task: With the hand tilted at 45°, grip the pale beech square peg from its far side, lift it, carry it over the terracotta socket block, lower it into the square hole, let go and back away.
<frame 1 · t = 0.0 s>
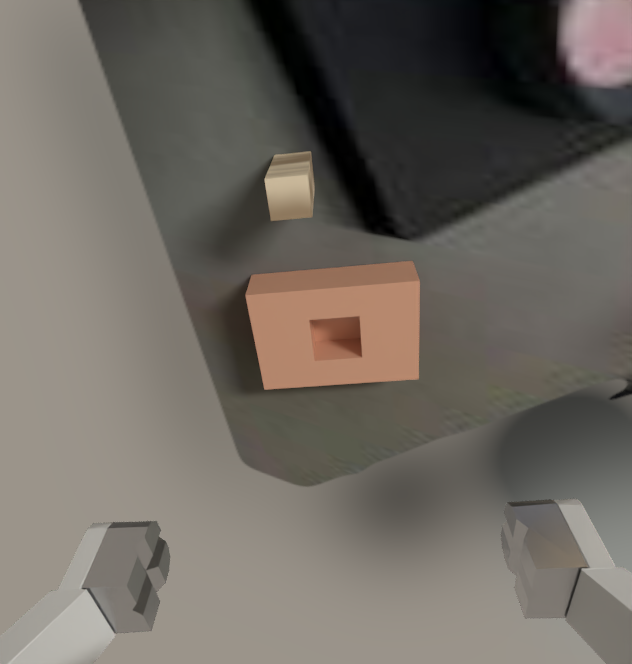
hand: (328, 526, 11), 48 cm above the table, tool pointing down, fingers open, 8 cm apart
socket: (335, 316, 64), on the table
peg: (294, 171, 54), on the table
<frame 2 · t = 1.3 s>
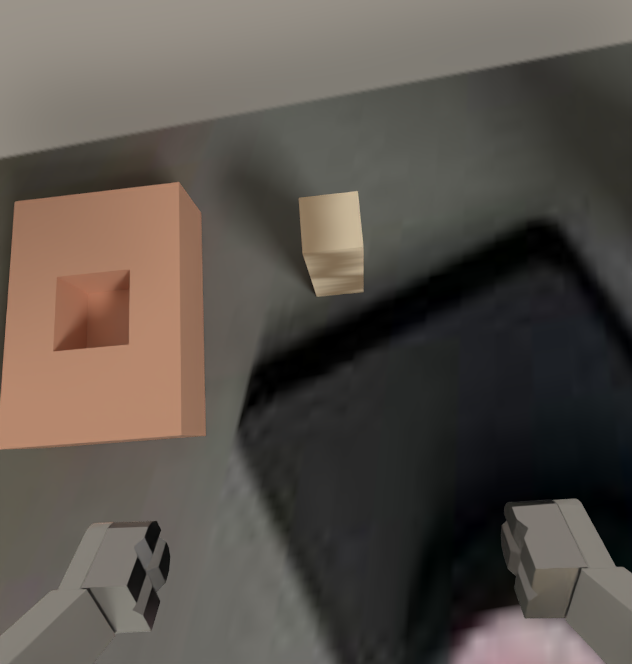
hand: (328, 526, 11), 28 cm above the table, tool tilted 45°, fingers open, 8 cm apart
socket: (125, 326, 43), on the table
peg: (338, 272, 42), on the table
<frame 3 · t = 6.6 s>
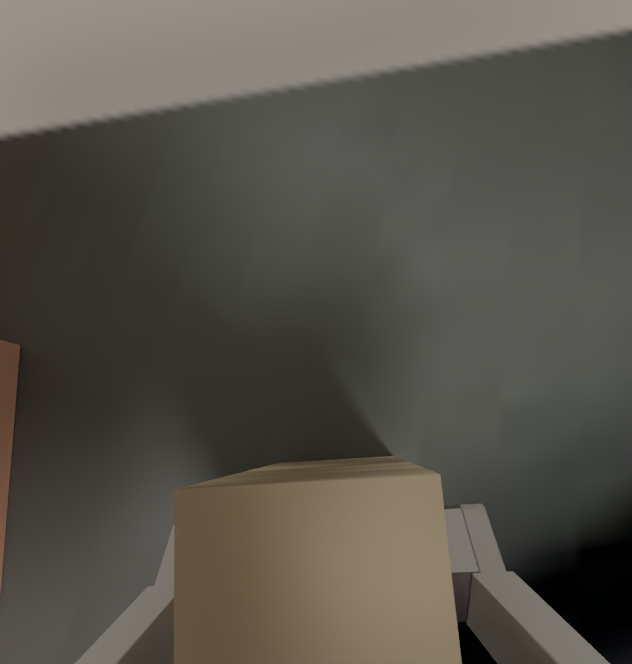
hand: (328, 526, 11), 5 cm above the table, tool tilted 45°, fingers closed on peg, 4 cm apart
peg: (339, 520, 17), on the table, touching gripper
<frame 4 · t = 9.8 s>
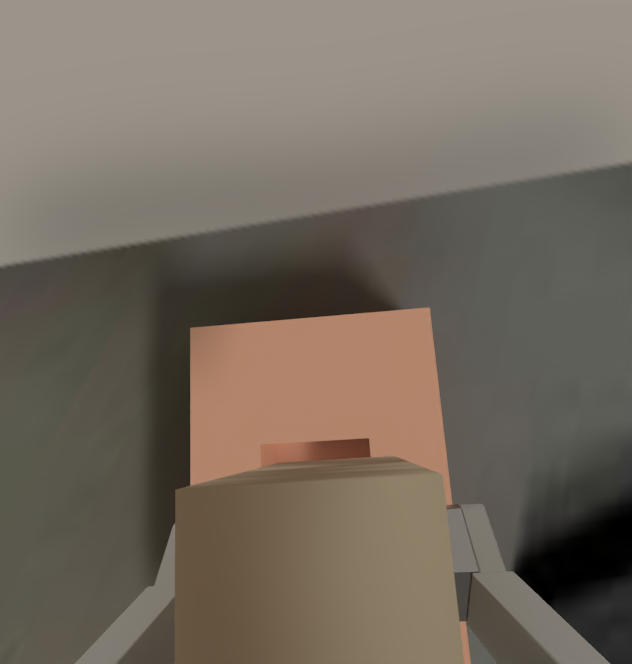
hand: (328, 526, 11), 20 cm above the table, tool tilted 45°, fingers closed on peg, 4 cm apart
socket: (326, 488, 31), on the table
peg: (340, 520, 16), point 15 cm above the table, touching gripper
when the fingers open (9 cm above the table, at t = 12.8 s): peg drops 3 cm, resting on socket.
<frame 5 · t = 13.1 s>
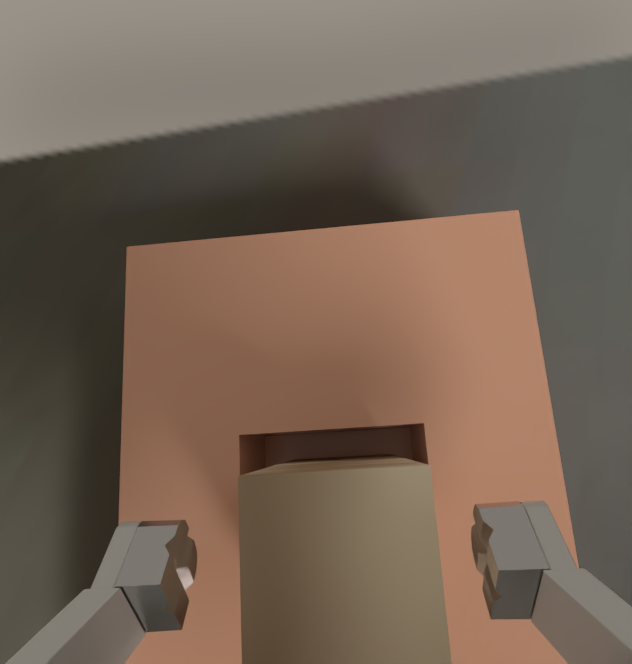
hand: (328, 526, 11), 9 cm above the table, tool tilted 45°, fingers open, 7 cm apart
socket: (342, 505, 20), on the table
peg: (344, 508, 19), point 1 cm above the table, touching socket
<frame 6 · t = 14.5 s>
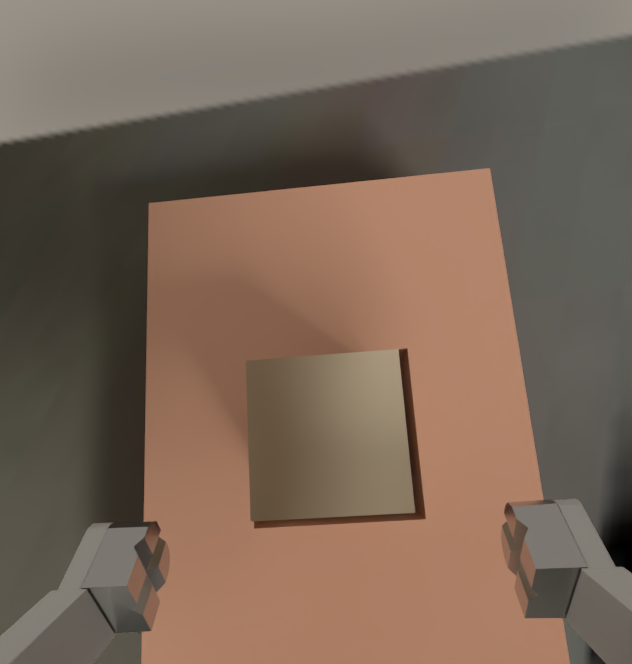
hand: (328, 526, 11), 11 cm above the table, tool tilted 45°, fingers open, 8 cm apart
socket: (338, 437, 23), on the table
peg: (340, 437, 22), point 1 cm above the table, touching socket
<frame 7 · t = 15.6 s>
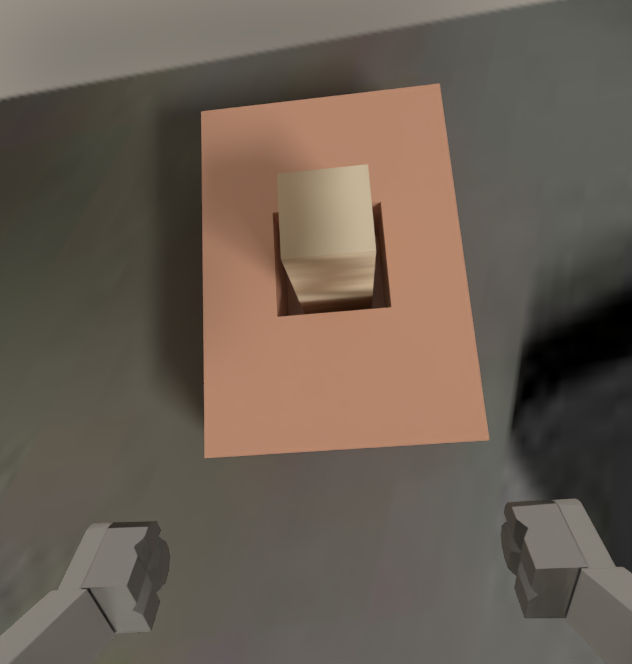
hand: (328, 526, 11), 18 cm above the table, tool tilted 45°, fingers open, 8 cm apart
socket: (335, 289, 31), on the table
peg: (336, 284, 30), point 1 cm above the table, touching socket
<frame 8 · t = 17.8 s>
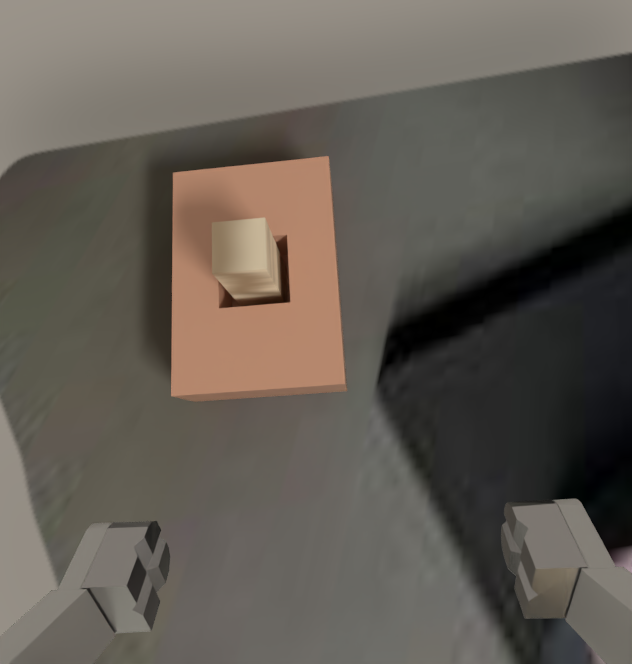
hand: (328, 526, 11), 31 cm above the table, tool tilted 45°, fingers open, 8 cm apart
socket: (265, 290, 46), on the table
peg: (265, 287, 45), point 1 cm above the table, touching socket
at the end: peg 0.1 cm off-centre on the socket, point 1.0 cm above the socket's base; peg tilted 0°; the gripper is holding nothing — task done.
